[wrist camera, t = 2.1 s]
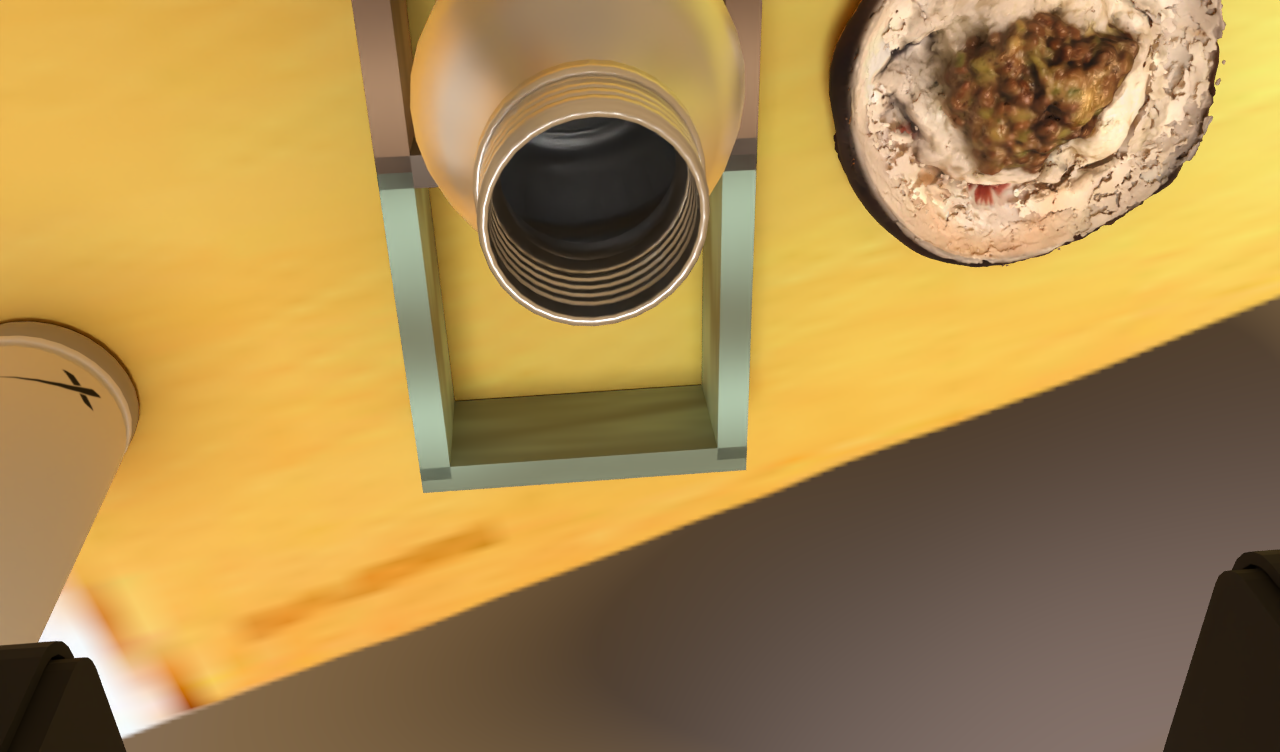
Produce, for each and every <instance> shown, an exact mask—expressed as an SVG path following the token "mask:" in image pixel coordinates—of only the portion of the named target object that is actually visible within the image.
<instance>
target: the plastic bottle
mask: <svg viewBox="0 0 1280 752" xmlns="http://www.w3.org/2000/svg"><path fill="white" fill-rule="evenodd" d="M744 99H745V72H744V59H743V55H742V51H741V46H740V42H739V38H738V33H737V30H736V28H735V25H734V23H733V21H732V19H731V17H730V14H729V12H728V10H727V8H726V6H725V4H724V1H723V0H436V2H435V5H434V7H433V9H432V11H431V13H430V15H429V18H428V20H427V22H426V24H425V27H424V29H423V31H422V34H421V36H420V38H419V40H418V44H417V48H416V53H415V57H414V62H413V66H412V71H411V83H410V111H411V116H412V122H413V127H414V133H415V138H416V142H417V144H418V147H419V149H420V152H421V154H422V157H423V159H424V162H425V164H426V167H427V169H428V171H429V173H430V174H431V176H432V178H433V179H434V181H435V182H436V184H437V185H438V187H439V188H440V190H441V191H442V193H443V194H444V196H445V197H446V199H447V200H448V201H449V203H450V204H451V205H452V207H453V208H454V209H455V210H456V211H457V212H458V213H459V214H460V215H461V216H462V217H463V218H464V219H465V220H466V221H467V222H468V223H469V224H470V225H471V226H472V228H473V229H475V230H476V231H477V232H478V234H479V241H480V245H481V248H482V250H483V253H484V256H485V258H486V261H487V263H488V266H489V269H490V270H491V272H492V273H493V275H494V276H495V278H496V279H497V281H498V282H499V284H500V285H501V287H502V288H503V289H504V290H505V291H506V292H507V293H508V294H509V295H510V296H511V297H512V298H513V299H514V300H515V301H516V302H518V303H519V304H521V305H522V306H524V307H525V308H527V309H528V310H530V311H531V312H533V313H535V314H537V315H540V316H542V317H545V318H547V319H549V320H552V321H556V322H560V323H565V324H569V325H577V326H599V325H606V324H613V323H618V322H621V321H624V320H627V319H630V318H633V317H636V316H638V315H640V314H642V313H644V312H646V311H648V310H650V309H652V308H653V307H655V306H657V305H658V304H659V303H661V302H662V301H663V300H664V299H666V298H667V297H668V296H670V295H671V294H672V293H673V292H674V291H675V290H676V289H677V288H678V287H679V286H680V284H681V283H682V282H683V281H684V280H685V279H686V278H687V276H688V275H689V273H690V272H691V270H692V268H693V267H694V265H695V263H696V262H697V260H698V258H699V256H700V253H701V250H702V247H703V245H704V242H705V239H706V234H707V228H708V222H709V213H710V206H709V196H710V194H711V192H712V191H713V189H714V187H715V186H716V184H717V182H718V181H719V179H720V177H721V176H722V174H723V172H724V171H725V168H726V165H727V162H728V160H729V157H730V154H731V152H732V149H733V146H734V143H735V141H736V138H737V135H738V131H739V128H740V123H741V117H742V111H743V105H744Z"/></svg>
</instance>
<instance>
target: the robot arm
mask: <svg viewBox="0 0 1280 752" xmlns="http://www.w3.org/2000/svg"><path fill="white" fill-rule="evenodd" d="M0 752H126V750H125V747H124V744H123V741H122V738H121V736H120V733H119V730H118V727H117V725H116V722H115V719H114V716H113V714H112V711H111V708H110V705H109V702H108V700H107V697H106V694H105V691H104V689H103V686H102V683H101V680H100V678H99V675H98V672H97V669H96V667H95V665H94V663H93V661H92V660H90V659H89V658H74V656H73V654H72V652H71V650H70V649H69V647H68V646H67V645H66V644H65V643H63V642H62V641H52V642H38V643H25V644H12V645H0ZM1163 752H1280V550H1268V551H1255V552H1247V553H1243V554H1242V555H1241V556H1240V557H1239V558H1238V559H1237V560H1236V562H1235V564H1234V567H1233V569H1232V570H1231V571H1224V572H1223V573H1222V574H1221V575H1220V576H1219V577H1218V579H1217V582H1216V584H1215V587H1214V590H1213V593H1212V597H1211V600H1210V603H1209V606H1208V610H1207V613H1206V616H1205V619H1204V622H1203V625H1202V628H1201V632H1200V635H1199V638H1198V641H1197V644H1196V648H1195V651H1194V655H1193V657H1192V660H1191V664H1190V667H1189V670H1188V673H1187V676H1186V680H1185V683H1184V686H1183V689H1182V693H1181V696H1180V699H1179V702H1178V705H1177V708H1176V712H1175V715H1174V718H1173V722H1172V725H1171V728H1170V731H1169V734H1168V737H1167V741H1166V744H1165V747H1164V750H1163Z"/></svg>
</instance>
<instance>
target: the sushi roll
mask: <svg viewBox="0 0 1280 752" xmlns="http://www.w3.org/2000/svg"><path fill="white" fill-rule="evenodd" d="M1222 7H1223V5H1222V4H1221V0H861V1H860V3H859V5H858V6H857V8H856V10H855V11H854V13H853V15H852V16H851V18H850V19H849V21H848V22H847V24H846V26H845V28H844V29H843V31H842V33H841V35H840V37H839V39H838V42H837V44H836V46H835V49H834V52H833V56H832V60H831V65H830V74H829V96H830V102H831V108H832V113H833V118H834V124H835V130H836V133H835V135H834V141H835V150H836V152H837V153H838V158H839V160H840V162H841V165H842V167H843V170H844V172H845V173H846V175H847V177H848V180H849V182H850V184H851V186H852V188H853V190H854V192H855V193H856V195H857V197H858V198H859V199H860V201H861V202H862V204H863V205H864V206H865V208H866V209H867V210H868V212H869V213H870V214H871V215H872V216H873V217H874V219H875V220H876V221H877V222H878V223H879V224H880V225H881V226H882V227H884V228H885V229H886V230H887V231H888V232H889V233H891V234H892V235H893V236H894V237H896V238H897V239H898V240H899V241H901V242H902V243H903V244H904V245H906V246H907V247H909V248H910V249H912V250H913V251H915V252H917V253H919V254H921V255H923V256H926V257H928V258H931V259H935V260H938V261H942V262H946V263H951V264H957V265H964V266H970V267H984V266H985V267H987V266H993V265H1002V266H1004V265H1005V264H1010V263H1015V262H1017V261H1023V260H1026V259H1029V258H1033V257H1039V256H1043V255H1046V254H1048V253H1050V252H1052V251H1053V250H1054V249H1056V248H1058V247H1060V246H1063V245H1067V244H1070V243H1071V242H1074V241H1077V240H1080V239H1083V238H1084V237H1086V236H1087V235H1089V234H1090V233H1092V232H1094V231H1097V230H1098V229H1099V228H1100V227H1101V226H1103V225H1112V224H1113V223H1114V222H1115V221H1116V220H1118V219H1119V218H1121V217H1123V216H1124V215H1125V214H1126V213H1128V212H1129V211H1131V210H1133V209H1134V208H1135V207H1137V206H1139V205H1141V204H1143V202H1144V200H1146V199H1147V198H1149V197H1150V196H1152V195H1153V194H1157V193H1158V192H1160V191H1161V190H1162V189H1164V188H1166V187H1167V186H1168V185H1170V184H1171V183H1172V182H1173V180H1174V179H1175V178H1176V177H1177V175H1178V173H1179V171H1180V169H1181V167H1182V165H1183V163H1184V162H1185V161H1190V160H1191V159H1192V158H1193V156H1194V155H1195V154H1196V151H1197V150H1198V147H1199V145H1200V142H1201V141H1202V138H1203V135H1205V133H1206V131H1207V128H1208V125H1209V124H1210V122H1211V121H1212V118H1213V116H1208V113H1209V108H1210V106H1211V105H1212V104H1213V96H1214V95H1215V91H1216V90H1215V87H1214V80H1215V75H1216V71H1217V67H1218V63H1219V46H1218V43H1217V39H1219V38H1222V34H1223V33H1222V31H1223V30H1225V26H1226V24H1225V22H1224V21H1223V17H1222V11H1221V9H1222ZM1222 63H1223V64H1225V60H1223V61H1222ZM1220 81H1221V80H1220V78H1219V79H1218V80H1217V81H1216V83H1215V84H1216V85H1219V84H1220ZM1058 250H1060V248H1058ZM1006 266H1008V265H1006Z"/></svg>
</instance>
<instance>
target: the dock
mask: <svg viewBox="0 0 1280 752" xmlns="http://www.w3.org/2000/svg"><path fill="white" fill-rule="evenodd" d="M351 1H352V7H353V14H354V21H355V28H356V35H357V42H358V48H359V55H360V62H361V69H362V76H363V83H364V90H365V96H366V103H367V110H368V117H369V124H370V131H371V138H372V144H373V151H374V158H375V165H376V172H377V179H378V186H379V192H380V199H381V206H382V213H383V220H384V227H385V234H386V240H387V247H388V254H389V261H390V268H391V275H392V281H393V288H394V295H395V302H396V309H397V316H398V323H399V329H400V336H401V343H402V350H403V357H404V364H405V371H406V377H407V384H408V391H409V398H410V405H411V412H412V419H413V425H414V432H415V439H416V446H417V453H418V460H419V466H420V473H421V480H422V487H423V493H429V492H443V491H457V490H471V489H485V488H499V487H513V486H527V485H541V484H555V483H569V482H583V481H597V480H611V479H625V478H639V477H653V476H667V475H681V474H695V473H709V472H723V471H737V470H746V456H747V426H748V397H749V368H750V339H751V310H752V280H753V251H754V222H755V193H756V164H757V134H758V105H759V76H760V47H761V18H762V0H723V1H724V4H725V6H726V8H727V10H728V12H729V14H730V17H731V19H732V21H733V23H734V25H735V28H736V30H737V33H738V38H739V42H740V46H741V51H742V55H743V59H744V72H745V99H744V105H743V111H742V117H741V123H740V128H739V131H738V135H737V138H736V141H735V143H734V146H733V149H732V152H731V154H730V157H729V160H728V162H727V165H726V168H725V171H724V172H723V174H722V176H721V177H720V179H719V181H718V182H717V184H716V186H715V187H714V189H713V191H712V192H711V194H710V196H709V206H710V213H709V222H708V228H707V234H706V239H705V242H704V245H703V296H702V385H692V386H677V387H662V388H647V389H632V390H617V391H602V392H587V393H572V394H556V395H541V396H526V397H511V398H496V399H481V400H466V401H455V399H454V391H453V383H452V375H451V367H450V358H449V350H448V342H447V334H446V326H445V318H444V309H443V301H442V293H441V285H440V277H439V268H438V260H437V252H436V244H435V236H434V227H433V219H432V211H431V203H430V195H429V188H431V187H438V185H437V184H436V182H435V181H434V179H433V178H432V176H431V174H430V173H429V171H428V169H427V167H426V164H425V162H424V159H423V157H422V154H421V152H420V149H419V147H418V144H417V142H416V138H415V133H414V127H413V122H412V116H411V111H410V83H411V71H412V66H413V55H412V47H411V39H410V31H409V23H408V15H407V6H406V0H351Z"/></svg>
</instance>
